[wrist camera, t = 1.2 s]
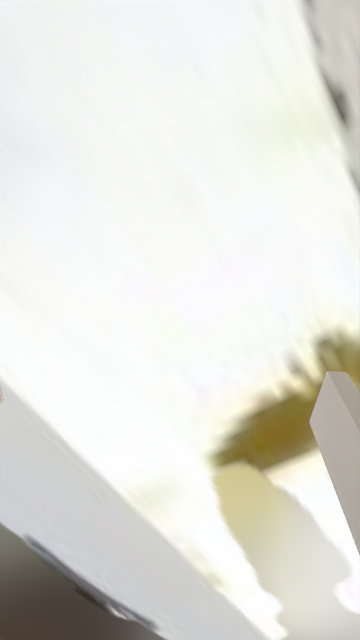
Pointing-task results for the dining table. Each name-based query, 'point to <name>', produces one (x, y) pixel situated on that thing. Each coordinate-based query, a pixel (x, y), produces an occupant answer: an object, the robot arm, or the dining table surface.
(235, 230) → the dining table surface
